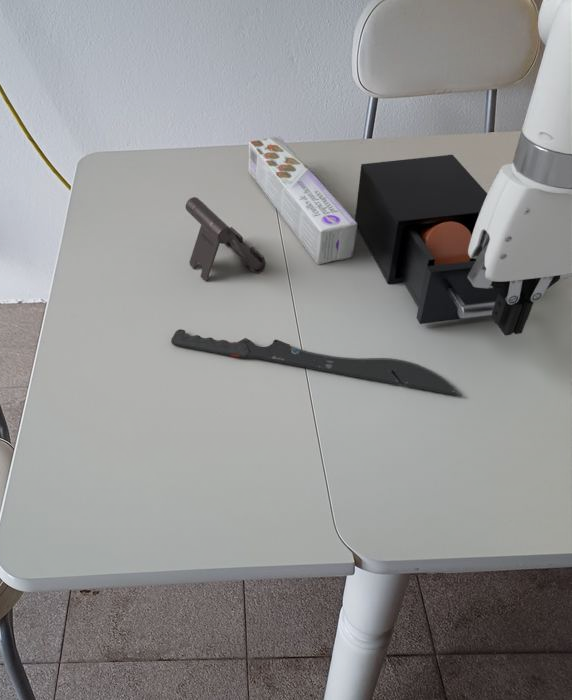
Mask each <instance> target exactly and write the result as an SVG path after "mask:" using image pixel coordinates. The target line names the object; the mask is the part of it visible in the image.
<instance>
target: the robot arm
mask: <svg viewBox="0 0 572 700" xmlns="http://www.w3.org/2000/svg"><path fill="white" fill-rule="evenodd" d="M537 30H538V36H539V38H540V41H541V42H542V43H543V44H544V46H545V47H544V50H543V55H542V58H541V61H540V65H539V68H538V72H537V76H536V80H535V83H534V86H533V90H532V93H531V97H530V100H529V104H528V106H527V107H528V108H527V111H526V114H525V119H524V122H523V125H522V128H521V130H520V134H519V138H518V141H517V144H516V148H515V152H514V156H513V159H512V162H511V163H506V164H503V165H502V166H501V168H500V169H499V171H498V173H497V174H496V176H495V177H494V180H493V182H492V183H491V186H490V187H489V189H488V192H487V196H486V198H485V201H484V203H483V206H482V208H481V211H480V214H479V216H478V219H477V222H476V225H475V227H474V230H473V234H472V237H471V240H470V244H469V248H468V255H469V256H470V258H474V259H477V260H476V261H475V263H474V265H473V267H472V269H471V271H470V272H469V274H468V277H467V278H468V280H469V281H470V283H471V284H472V285H473V287H477V288H487V289H489V288H493V289H494V290H495V291H496V292H497V293H498V295H497V298H496V301H495V305H494V308H493V311H492V315H491V318H492V321H493V322H494V324H495V325H497V326H498V328H499V329H500V331H501V332H502V334H503V335H504V336H511V335H512V334H514V335H520V334H523V331H524V328H525V326H526V322H527V321H528V319H529V317H530V314H531V311H532V308H533V305H534V304H535V303H536V302H539V301H540V300H542V299H543V297H544V295H545V294H546V292H547V290H548V289H549V288H551V287H552V286H553V285H555V284H556V283H557V282H558V281H562V280H565V279H568V278H572V0H542V3H541V5H540V8H539V11H538V19H537Z"/></svg>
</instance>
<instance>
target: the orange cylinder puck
mask: <svg viewBox="0 0 572 700" xmlns="http://www.w3.org/2000/svg"><path fill="white" fill-rule="evenodd" d="M419 236H420V237H421V239H422V240H423V242H424V243H425V245H426V246H427V248H428V249H429V251H430V252H431V254H432V255H433V257H434V258H435V262H434V265H442V264H451V263H459V262H468V261H470V259H471V258H470V256H469V255H468V248H469V244H470V240H471V237H472V235H471V233H470V231H469V230H468V229H467V228H466V227H465V226H464V225H462V224H460V223H457V222H438V223H433V224H431V225H429V226H427V227H426V228H424V229H423V230H422V232H421V233H420V234H419Z"/></svg>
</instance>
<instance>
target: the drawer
mask: <svg viewBox="0 0 572 700" xmlns="http://www.w3.org/2000/svg"><path fill="white" fill-rule="evenodd" d="M477 219H478V218H473V219H465V220H456V221H447V222H457V223H460V224H462V225H464V226H465V227H466V228H467V229H468V230H469V231H470V233H471V235H472V234H473V230H474V227H475V225H476V222H477ZM431 224H433V223H429V224H420V225H411V226H404V228H403V234H402V240H401V245H400V251H399V257H398V263H397V268H396V270H397V272H398V274H399V275H400V277H401V279H402V281H403V282H402V283H403V284H404V286H405V288H406V289H407V291H408V293H409V295H410V296H411V298H412V300H413V301H414V303H415V305H416V307H417V312H416V320H417V322H418V323H419V325H425V324H433V323H440V322H449V321H456V320H465V319H472V318H481V317H489V316H492V311H493V308H494V305H495V301H496V298H497V295H498V293H497V292H496V291H495V290H494V289H493V288H489V289H487V288H477V287H473V285H472V284H471V283H470V281H469V280H468V278H467V277H468V274H469V272H470V271H471V269H472V267H473V265H474V263H475V261H476V260H477V259H474V258H471V259H470V261H468V262H459V263H451V264H442V265H434V262H435V258H434V257H433V255H432V254H431V252H430V251H429V249H428V248H427V246H426V245H425V243H424V242H423V240H422V239H421V237H420V236H419V234H420V233H421V232H422V230H423V229H424V228H426V227H427V226H429V225H431Z"/></svg>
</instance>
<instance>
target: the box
mask: <svg viewBox="0 0 572 700" xmlns="http://www.w3.org/2000/svg"><path fill="white" fill-rule="evenodd" d="M248 172H249V174H250V175H251V176H252V178H253V179H254V180H255V182H256V183H257V185H258V186H259V187H260V189H261V190H262V191H263V193H264V194H265V195H266V196H267V198H268V200H269V201H270V202H271V203H272V205H273V206H274V207H275V209H276V211H277V212H278V213H279V214H280V215H281V217H282V218H283V220H284V221H285V222H286V224H288V226H289V228H290V229H291V230H292V232H293V233H294V234H295V237H297V239H298V240H299V241H300V243H301V244H302V245H303V247H304V248H305V249H306V251H307V252H308V253H309V255H310V256H311V258H312V259H313V260H314V261H315V263H316V265H322V264H327V263H330V262H336V261H342V260H346V259H350V258H352V257H353V255H354V250H355V242H356V237H357V231H358V229H357V222H356V221H355V218H353V216H351V214H350V213H349V212H348V211H347V210H346V209H345V207H344V206H343V205H342V204H341V203H340V202H339V201H338V200H337V199H336V198H335V197H334V195H333V194H332V193H331V192H330V191H329V190H328V189H327V188H326V187H325V186H324V184H323V183H322V182H321V181H320V179H318V177H316V175H315V174H314V173H313V172H312V171H311V170H310V169H309V168H308V167H307V165H306V164H305V163H304V162H303V161H302V160H301V159H300V158H299V156H298V155H297V154H296V153H295V152H294V151H293V150H292V149H291V147H290V146H288V144H287V143H286V142H285V141H284V140H283V138H282V137H281V136H279V135H278V136H271V137H267V138H262V139H261V138H260V139H256V140H252V141H251V140H250V141H248Z"/></svg>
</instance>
